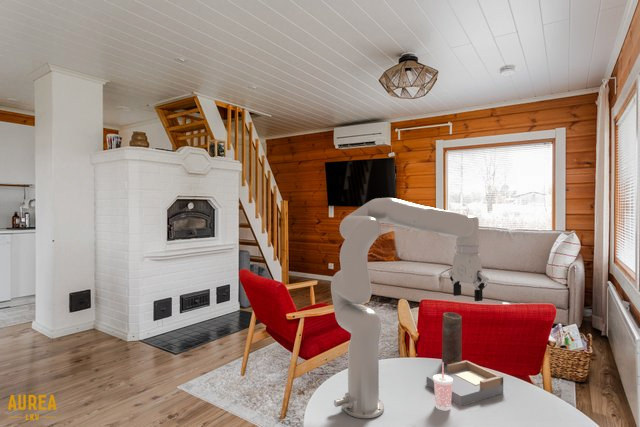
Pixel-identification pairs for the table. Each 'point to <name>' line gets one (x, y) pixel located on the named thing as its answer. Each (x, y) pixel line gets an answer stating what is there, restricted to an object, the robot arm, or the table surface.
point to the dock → (471, 382)
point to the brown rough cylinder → (451, 338)
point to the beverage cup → (443, 390)
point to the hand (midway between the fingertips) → (467, 298)
